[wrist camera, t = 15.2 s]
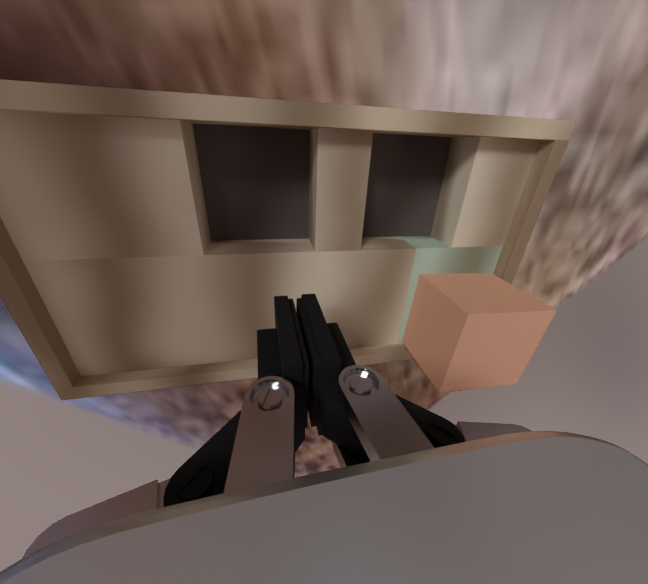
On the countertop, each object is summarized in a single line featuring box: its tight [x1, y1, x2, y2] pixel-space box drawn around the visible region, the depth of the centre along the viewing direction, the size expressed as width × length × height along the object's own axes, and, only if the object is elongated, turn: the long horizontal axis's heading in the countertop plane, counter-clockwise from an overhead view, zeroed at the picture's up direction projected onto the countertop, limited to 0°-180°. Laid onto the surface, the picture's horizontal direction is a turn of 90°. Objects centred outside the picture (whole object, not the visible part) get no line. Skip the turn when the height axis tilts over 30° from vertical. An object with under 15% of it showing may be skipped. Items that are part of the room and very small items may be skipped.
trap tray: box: [0, 79, 576, 400], centre depth 15 cm, size 26×14×3 cm, turn 88°
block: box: [402, 273, 557, 393], centre depth 16 cm, size 5×5×4 cm
